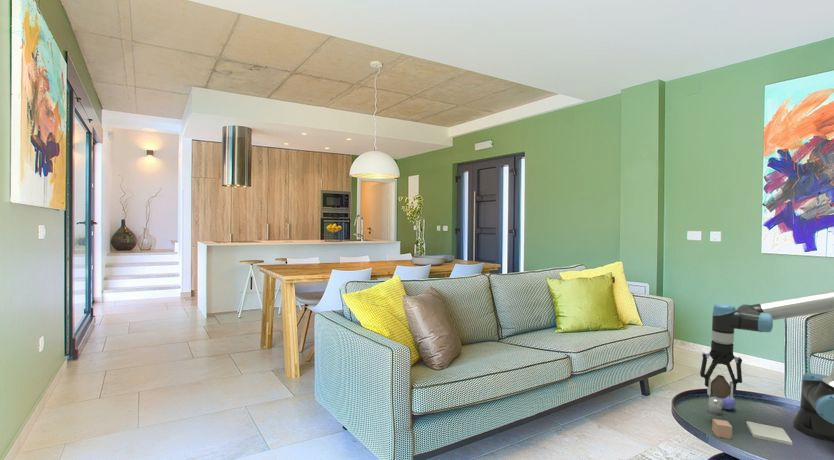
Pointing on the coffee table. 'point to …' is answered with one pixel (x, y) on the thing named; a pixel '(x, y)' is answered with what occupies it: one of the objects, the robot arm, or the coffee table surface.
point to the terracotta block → (722, 428)
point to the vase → (720, 387)
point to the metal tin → (715, 405)
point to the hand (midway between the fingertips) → (719, 396)
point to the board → (768, 433)
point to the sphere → (728, 403)
